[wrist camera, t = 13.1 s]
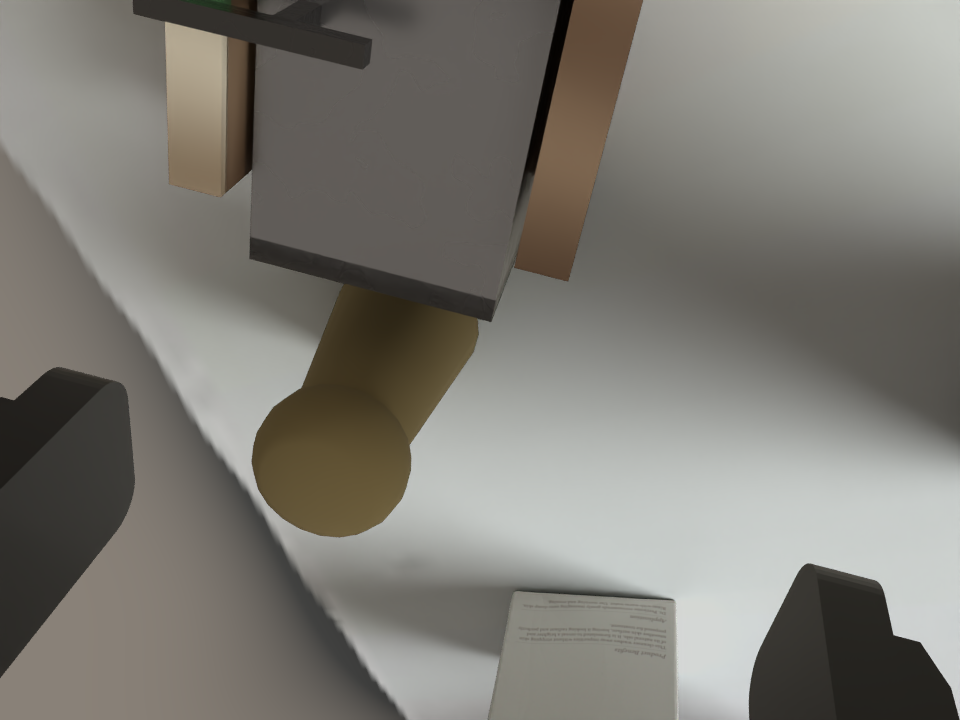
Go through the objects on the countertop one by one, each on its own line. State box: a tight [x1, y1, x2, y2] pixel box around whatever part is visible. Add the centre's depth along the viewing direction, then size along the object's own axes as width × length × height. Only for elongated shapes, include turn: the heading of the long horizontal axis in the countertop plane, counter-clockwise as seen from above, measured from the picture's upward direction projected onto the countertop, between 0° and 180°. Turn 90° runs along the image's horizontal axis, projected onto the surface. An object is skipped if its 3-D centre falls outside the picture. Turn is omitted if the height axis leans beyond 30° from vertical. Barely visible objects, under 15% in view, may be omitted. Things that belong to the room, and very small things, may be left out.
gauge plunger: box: [133, 0, 574, 322], centre depth 27 cm, size 10×10×8 cm
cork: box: [252, 284, 479, 537], centre depth 33 cm, size 6×6×11 cm
